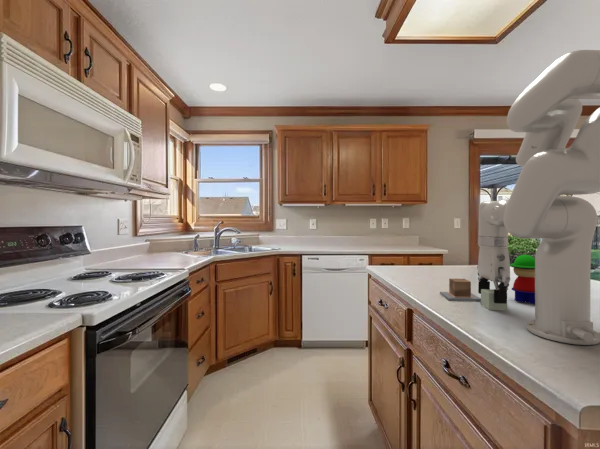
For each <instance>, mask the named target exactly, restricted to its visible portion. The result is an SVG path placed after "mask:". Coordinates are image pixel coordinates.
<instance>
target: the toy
mask: <svg viewBox="0 0 600 449" xmlns="http://www.w3.org/2000/svg"><path fill="white" fill-rule="evenodd" d="M510 268H513V269H512V271H513V273H514V274H515V275H516V278H515V280H514V282H513V285H512V287H511V290H512V291H514V301H515V302H517V303H526V304H531V305H535V256H534V257H533V256H532V255H529V254H521V255H518V256H517V257H516V258H515V260H514V262H513V263H510Z"/></svg>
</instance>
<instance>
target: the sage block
mask: <svg viewBox="0 0 600 449" xmlns="http://www.w3.org/2000/svg"><path fill="white" fill-rule="evenodd" d="M494 289H495V288H493V289H491V288H490V289H481V294H480V298H481V301H480V306H481V307H484V308H485V309H486V310H488V311H508V302H507V303H506V304H499V303H494Z"/></svg>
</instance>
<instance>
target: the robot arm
mask: <svg viewBox="0 0 600 449" xmlns="http://www.w3.org/2000/svg"><path fill="white" fill-rule="evenodd" d="M581 100H600V49H599V50H598V49H579V50H578V49H577V50H574V51H570V52H567V53H566V54H564V55H562V56H561V57H558V58H557V59H556V60H554V62H552V63H551V64H550V65H549V66H548V67H547V68H546V69H545V70H544V71H542V73H541V74H540V75H539V76H538V77H537V78H536V79H535V80H533V81H532V82H531V83H530V84H529V85H528V86H527V87H526V88H525V89H524V90H523V91H522V92H521V93H520V94H519V95H518V97H516V99H515V101H514V102H513V103H512V104H511V106H510V108H509V110H508V111H507V112H508V113H507V117H506V124H507V127H508V128H509V130H510V131H512V132H514V133H525V135H524V137H523V140H522V143H521V144H520V147H519V150H518V152H517V154H516V157H515V163H516V164H517V165H518V166H519V167H521V171H520V174H519V175H518V178H517V179H516V182H515V185H514V188H513V189H512V192H511V193H510V194H511V195H510V196H509V199H499V200H489V201H488V200H487V201H485V200H484V201H482V202H480V203H479V204H478V205H479V206H478V240H477V244H478V245H477V246H478V247H479V249H478V259H477V260H478V262H477V263H478V264H477V266H476V268H477V275H478V276H477V277H478V278H477V280H478V284H477V286H478V287H477V288H478V289H477V290H478V294H479V295H481V289H491V282H492V283H493V284H494V288H493V289H494V303H499V304H506V303H507V304H508V290H509V286H510V281H511V266H510V264H511V262H510V254H509V234H510V235H511V236H513V237H516V238H518V239H519V238H520V239H541V240H540V241H541V242H540V243H539V244H538V247H537V249H536V252H535V256H534V258H535V304H534V320H531V321H528V322H527V323H526V329H527V331H529V332H530V333H532V334H534V335H535V336H538V337H541V338H545V339H546V340H551V341H555V342H559V343H564V344H570V345H577V346H582V345H583V346H592V345H597V344H600V332H598V331H597V330H594V321H591V263H592V257H591V255H592V246H593V240H594V236H595V232H596V228H597V222H598V214H597V210H596V208H595V207H594V205H593V204H591V203H590V202H589V201H587V200H586V199H584V198H582V197H577V196H573V195H578V196H579V195H580V196H581V195H592V194H597V193H599V192H600V107H598V108H596V109H595V111H593V112H592V113H591V114H590V115H589V117H587V118H586V119H585V121H584V122H583V123H582V125H581V126H580V128H579V130H578V133H577V134H576V137H575V139H574V140H573V142H572V143H571V144H570V146H569V147H567V144H568V142H569V140H570V139H571V137H572V135H573V132H574V130H575V128H576V127H577V124H578V122H579V119H580V118H581V115H582V113H583V103H582V102H581ZM569 195H570V196H569ZM571 195H572V196H571Z"/></svg>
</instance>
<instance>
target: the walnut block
mask: <svg viewBox="0 0 600 449" xmlns="http://www.w3.org/2000/svg"><path fill="white" fill-rule="evenodd" d="M448 281H449V284H448V286H449V287H448V288H449V289H448V290H449V291H448V292H449V293H450V294H452V295H453V296H460V297H471V293H472V290H471V289H472V283H471V281H470V280H468V279H466V278H451V277H450V278H449V280H448Z"/></svg>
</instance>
